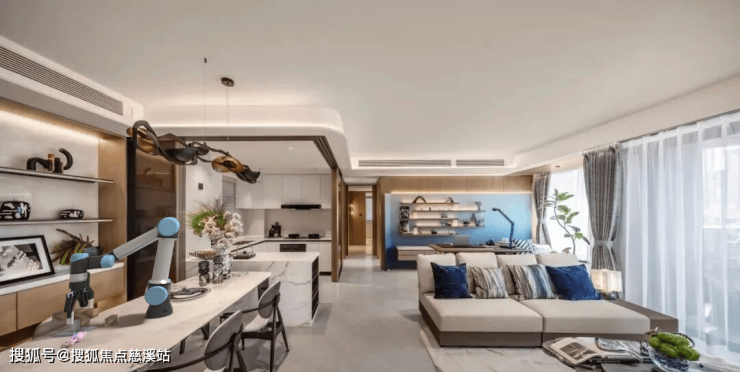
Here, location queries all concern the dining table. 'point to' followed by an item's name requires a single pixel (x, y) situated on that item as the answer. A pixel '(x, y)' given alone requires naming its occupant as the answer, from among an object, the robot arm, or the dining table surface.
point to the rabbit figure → (74, 339)
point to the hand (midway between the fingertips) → (75, 321)
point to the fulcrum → (74, 329)
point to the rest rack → (108, 321)
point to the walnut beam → (76, 314)
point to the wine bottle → (90, 294)
